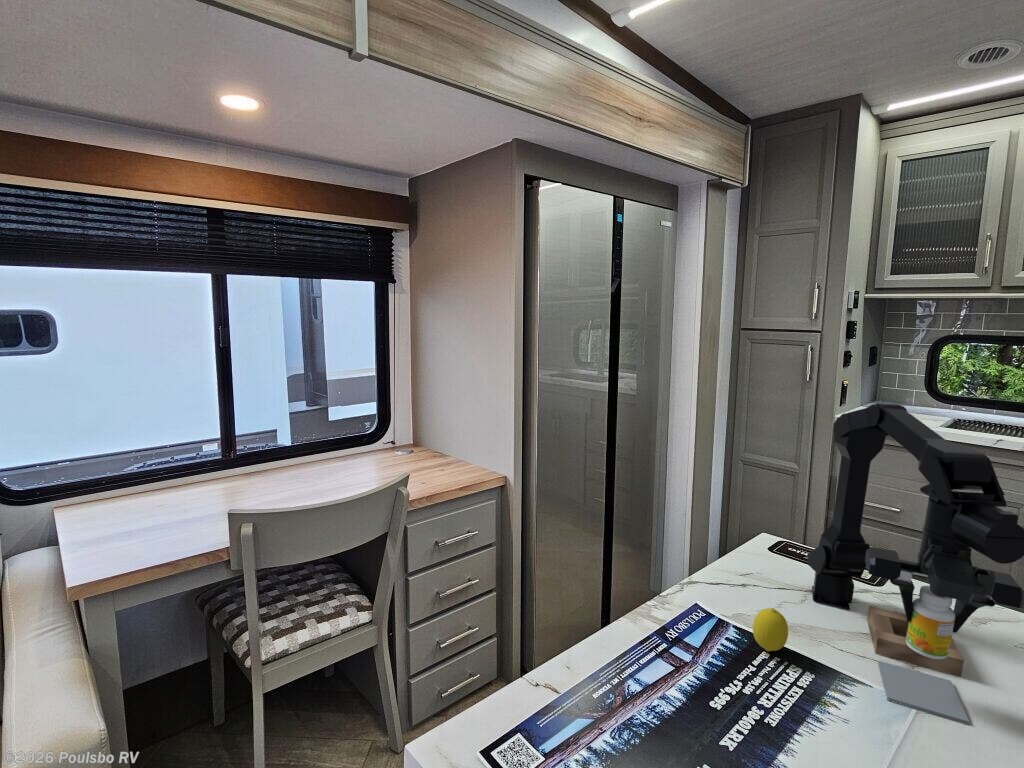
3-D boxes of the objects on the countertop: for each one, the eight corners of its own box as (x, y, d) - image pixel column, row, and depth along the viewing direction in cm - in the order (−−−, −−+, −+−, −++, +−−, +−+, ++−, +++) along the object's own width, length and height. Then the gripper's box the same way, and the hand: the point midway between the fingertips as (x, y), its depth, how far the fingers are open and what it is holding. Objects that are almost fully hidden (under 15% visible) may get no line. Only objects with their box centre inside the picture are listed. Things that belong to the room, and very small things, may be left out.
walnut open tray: (875, 653, 96) (877, 637, 96) (866, 619, 107) (869, 605, 106) (960, 676, 91) (963, 660, 90) (942, 638, 101) (945, 623, 101)
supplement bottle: (896, 639, 88) (906, 583, 87) (927, 638, 89) (937, 582, 87) (924, 661, 83) (935, 601, 81) (957, 660, 83) (968, 601, 82)
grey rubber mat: (887, 700, 84) (887, 697, 84) (877, 663, 93) (878, 660, 93) (968, 724, 80) (969, 721, 80) (950, 683, 89) (951, 680, 89)
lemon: (782, 645, 97) (788, 604, 96) (787, 664, 92) (793, 621, 91) (749, 638, 99) (754, 597, 98) (751, 656, 94) (757, 613, 93)
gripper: (881, 537, 80) (866, 634, 82) (1051, 570, 71) (1028, 677, 74) (871, 511, 89) (858, 599, 92) (1019, 538, 81) (1000, 633, 84)
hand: (930, 625), depth 85 cm, fingers closed on supplement bottle, 5 cm apart
